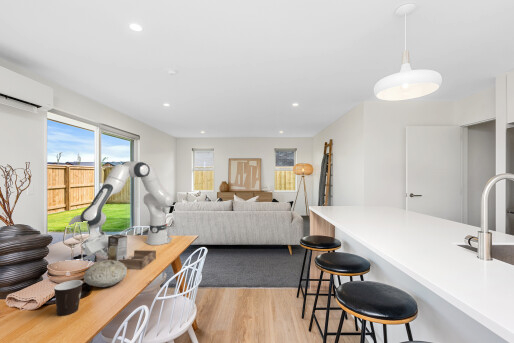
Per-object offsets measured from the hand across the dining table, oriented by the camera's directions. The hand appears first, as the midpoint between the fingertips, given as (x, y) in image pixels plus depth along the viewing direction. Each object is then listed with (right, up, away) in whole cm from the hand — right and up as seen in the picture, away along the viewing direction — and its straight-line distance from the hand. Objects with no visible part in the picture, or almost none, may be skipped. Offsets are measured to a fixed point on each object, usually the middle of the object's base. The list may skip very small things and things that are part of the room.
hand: (107, 255), depth 147 cm
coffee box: (+6, -4, 0) cm, 7 cm away
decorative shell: (+16, -4, -28) cm, 33 cm away
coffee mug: (+17, -3, -54) cm, 57 cm away
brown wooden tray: (+15, -6, 0) cm, 16 cm away
